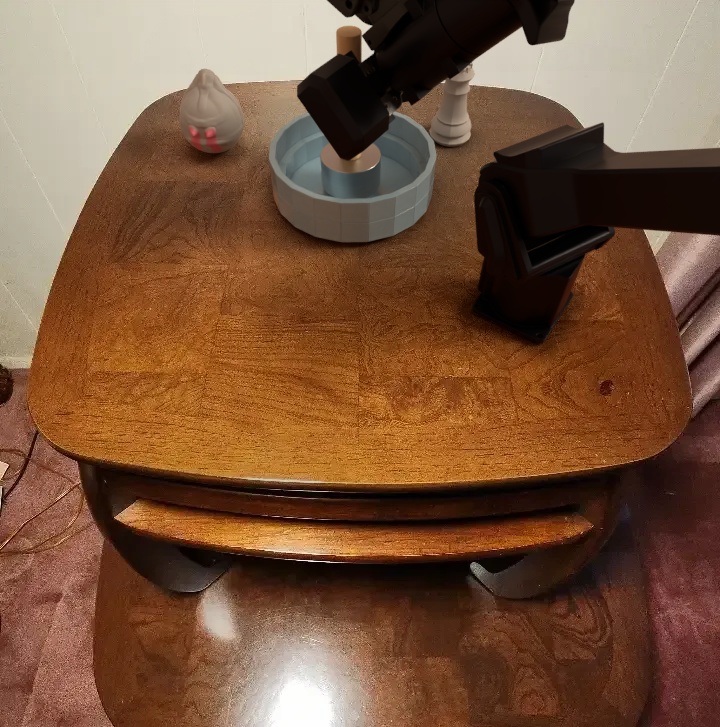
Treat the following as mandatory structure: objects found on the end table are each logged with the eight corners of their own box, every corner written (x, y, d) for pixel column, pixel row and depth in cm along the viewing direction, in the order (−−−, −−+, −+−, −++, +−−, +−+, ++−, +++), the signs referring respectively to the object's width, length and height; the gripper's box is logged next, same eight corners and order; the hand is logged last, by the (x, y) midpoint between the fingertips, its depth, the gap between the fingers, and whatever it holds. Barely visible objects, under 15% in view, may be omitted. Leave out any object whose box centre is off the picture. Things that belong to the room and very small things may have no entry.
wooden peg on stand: (391, 177, 60) (398, 26, 49) (358, 207, 57) (358, 55, 46) (343, 157, 62) (340, 8, 51) (310, 186, 59) (298, 35, 48)
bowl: (458, 182, 62) (465, 137, 58) (374, 270, 54) (376, 226, 50) (334, 132, 67) (333, 87, 63) (242, 206, 59) (234, 161, 55)
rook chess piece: (469, 150, 65) (481, 76, 59) (426, 146, 65) (434, 72, 59) (471, 126, 68) (483, 53, 61) (430, 123, 68) (438, 49, 62)
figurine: (176, 165, 63) (156, 90, 57) (196, 126, 67) (180, 53, 61) (238, 171, 63) (225, 96, 56) (255, 132, 67) (244, 58, 60)
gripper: (467, -140, 44) (343, -10, 57) (310, -58, 35) (203, 76, 47) (543, 5, 48) (411, 97, 60) (419, 115, 38) (293, 197, 51)
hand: (337, 113), depth 55 cm, fingers closed on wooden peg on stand
